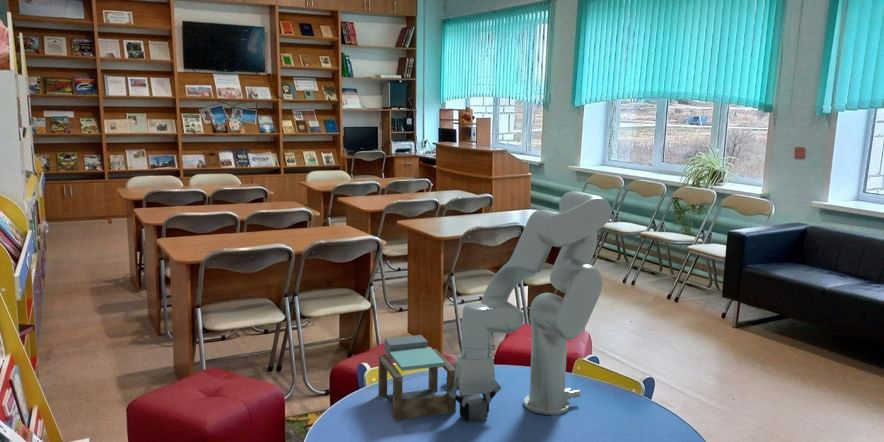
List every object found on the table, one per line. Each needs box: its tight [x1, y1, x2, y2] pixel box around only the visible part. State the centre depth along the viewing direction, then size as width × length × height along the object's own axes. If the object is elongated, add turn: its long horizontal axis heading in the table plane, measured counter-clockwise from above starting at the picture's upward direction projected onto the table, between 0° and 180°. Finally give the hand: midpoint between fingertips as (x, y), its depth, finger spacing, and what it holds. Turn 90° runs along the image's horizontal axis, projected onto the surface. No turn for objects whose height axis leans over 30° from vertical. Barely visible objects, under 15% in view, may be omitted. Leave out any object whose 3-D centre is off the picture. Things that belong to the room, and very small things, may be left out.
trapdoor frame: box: [377, 348, 457, 422], centre depth 188 cm, size 17×17×12 cm
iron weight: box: [465, 394, 488, 424], centre depth 181 cm, size 5×5×5 cm
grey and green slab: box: [384, 334, 445, 372], centre depth 191 cm, size 12×19×4 cm, turn 20°
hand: (474, 416), depth 181 cm, fingers closed on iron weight, 5 cm apart
